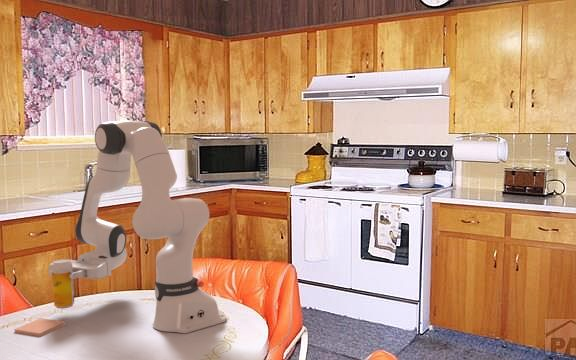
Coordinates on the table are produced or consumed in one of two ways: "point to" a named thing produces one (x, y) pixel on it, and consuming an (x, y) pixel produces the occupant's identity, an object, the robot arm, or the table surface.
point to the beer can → (62, 283)
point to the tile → (39, 327)
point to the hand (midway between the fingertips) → (60, 275)
